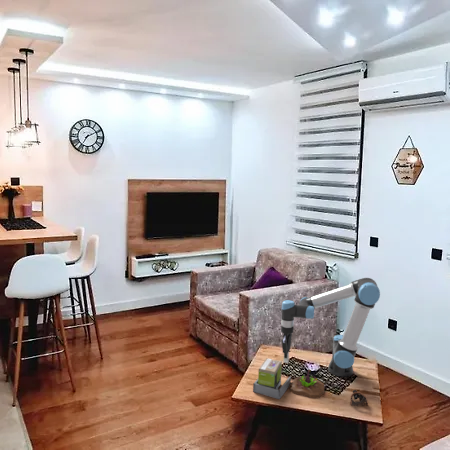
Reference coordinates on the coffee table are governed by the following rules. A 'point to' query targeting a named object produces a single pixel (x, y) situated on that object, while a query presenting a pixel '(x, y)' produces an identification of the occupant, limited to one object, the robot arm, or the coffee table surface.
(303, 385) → the plant
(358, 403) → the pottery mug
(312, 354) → the coffee table surface
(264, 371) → the tea box
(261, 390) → the box
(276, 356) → the coffee table surface
